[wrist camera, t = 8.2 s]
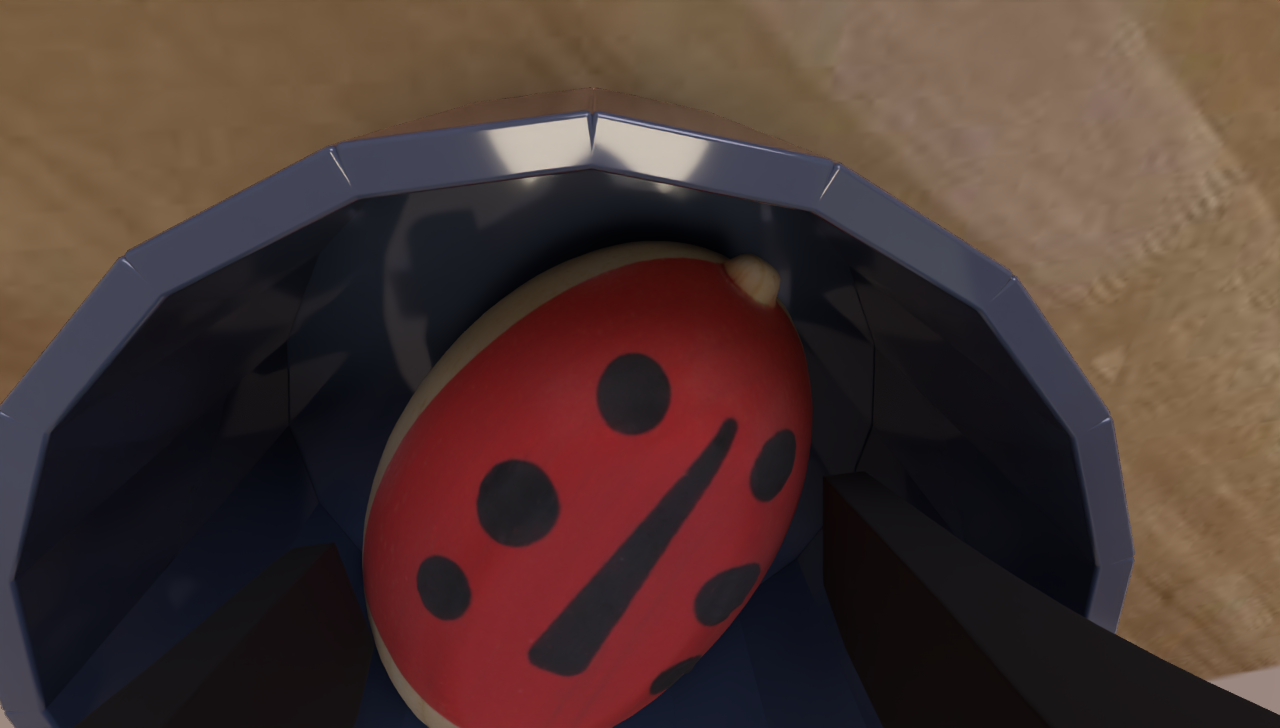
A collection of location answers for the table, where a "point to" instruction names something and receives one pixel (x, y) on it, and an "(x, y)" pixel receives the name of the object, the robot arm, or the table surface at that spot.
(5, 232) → the table surface
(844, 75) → the table surface
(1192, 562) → the table surface
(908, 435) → the round open container
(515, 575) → the ladybug figurine
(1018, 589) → the robot arm
